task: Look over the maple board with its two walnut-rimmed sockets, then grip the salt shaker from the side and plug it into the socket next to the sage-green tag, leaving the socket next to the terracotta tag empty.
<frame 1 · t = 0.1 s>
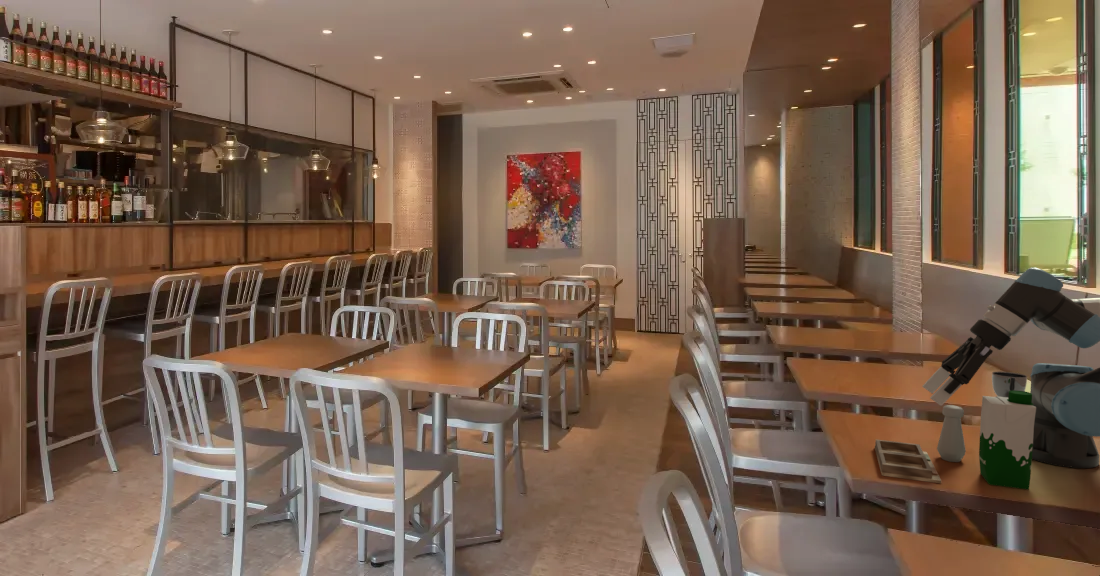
hand: (931, 395, 147), 15 cm above the table, tool tilted 35°, fingers open, 13 cm apart
wine glass: (1006, 426, 175), on the table
salt shaker: (950, 460, 148), on the table
milk carton: (1003, 482, 134), on the table
socket board: (905, 464, 144), on the table
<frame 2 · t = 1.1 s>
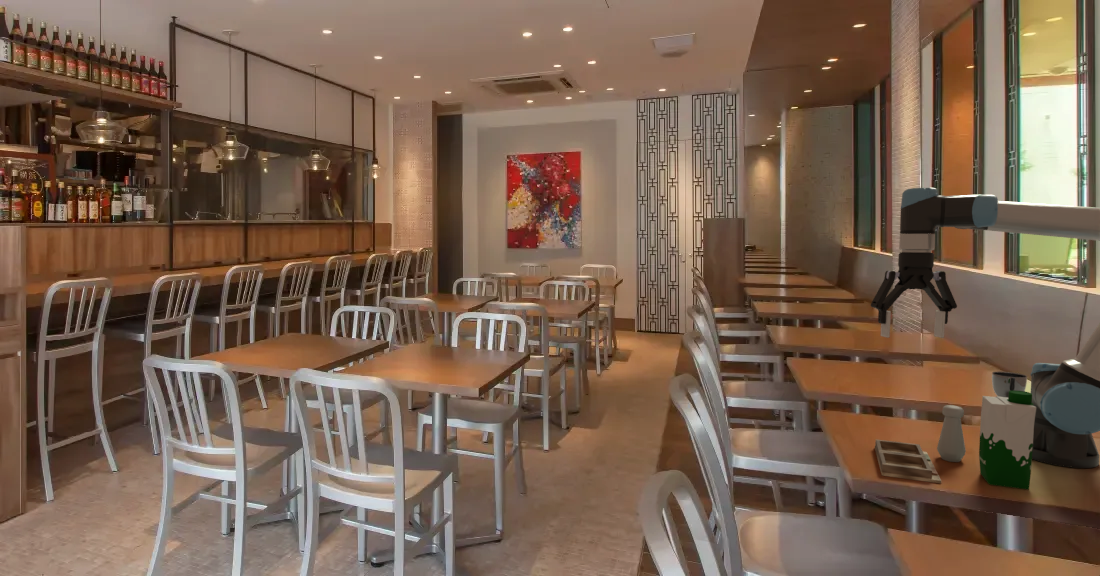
hand: (911, 337, 152), 29 cm above the table, tool pointing down, fingers open, 13 cm apart
nothing on the table moved.
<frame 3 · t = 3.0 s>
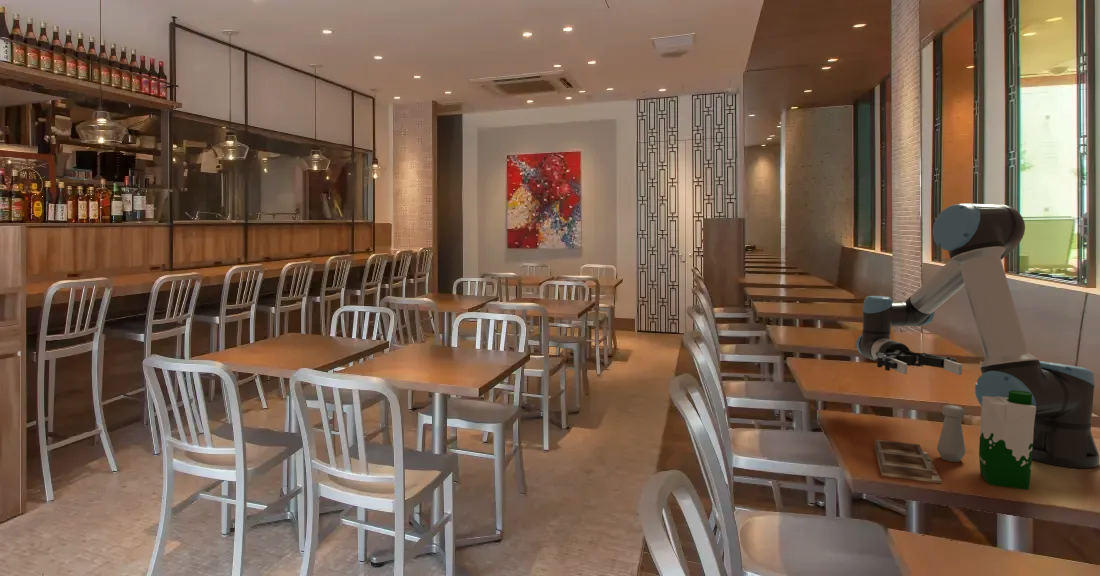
hand: (933, 369, 155), 20 cm above the table, tool horizontal, fingers open, 13 cm apart
nothing on the table moved.
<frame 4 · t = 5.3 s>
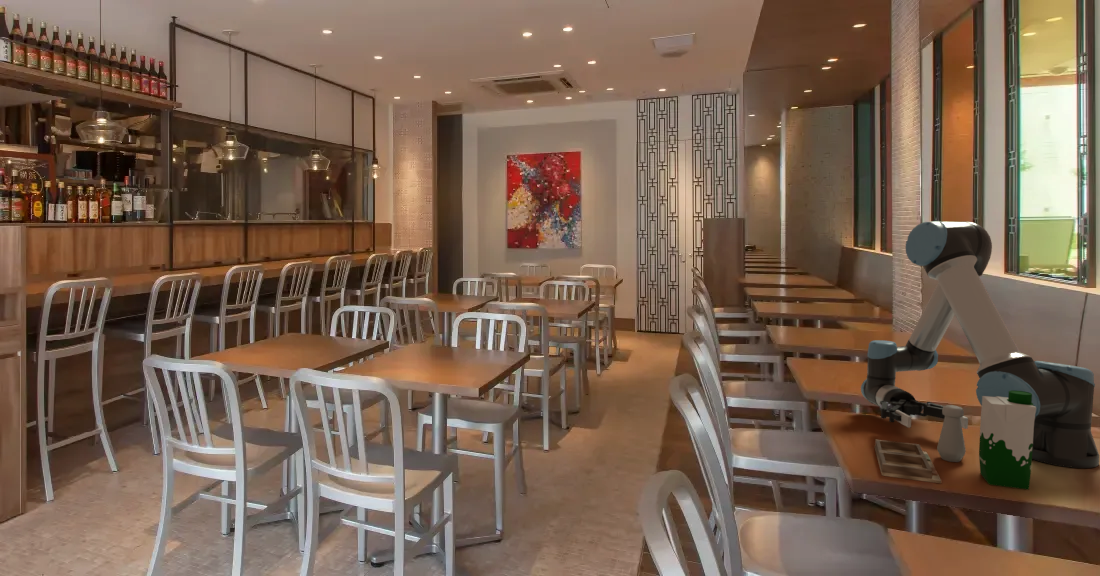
hand: (937, 422, 152), 7 cm above the table, tool horizontal, fingers open, 13 cm apart
nothing on the table moved.
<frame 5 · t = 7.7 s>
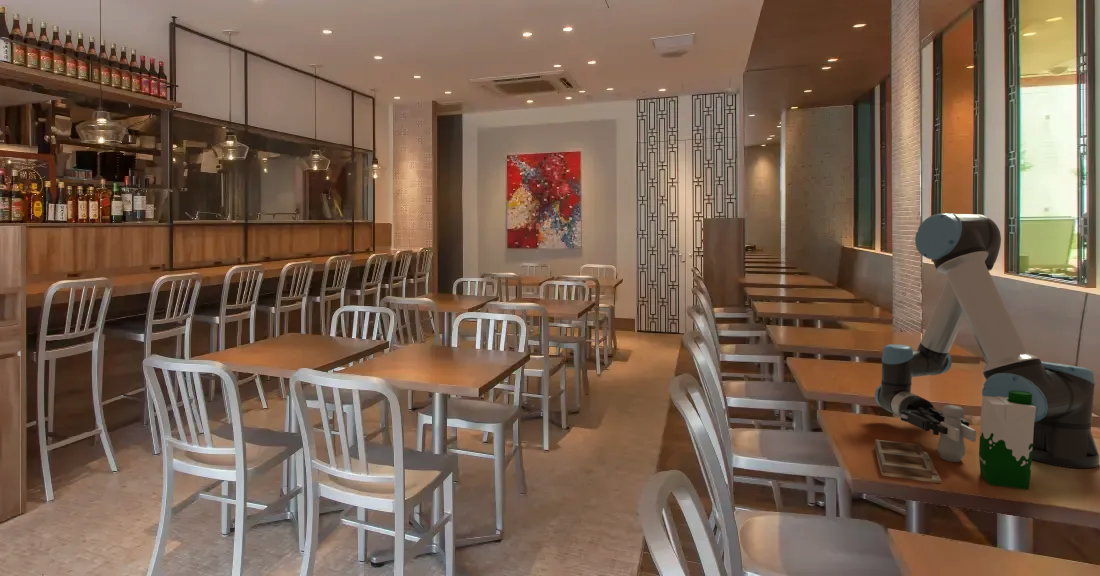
hand: (965, 435, 142), 7 cm above the table, tool horizontal, fingers closed on salt shaker, 3 cm apart
salt shaker: (950, 460, 148), on the table, touching gripper
everything else where it was.
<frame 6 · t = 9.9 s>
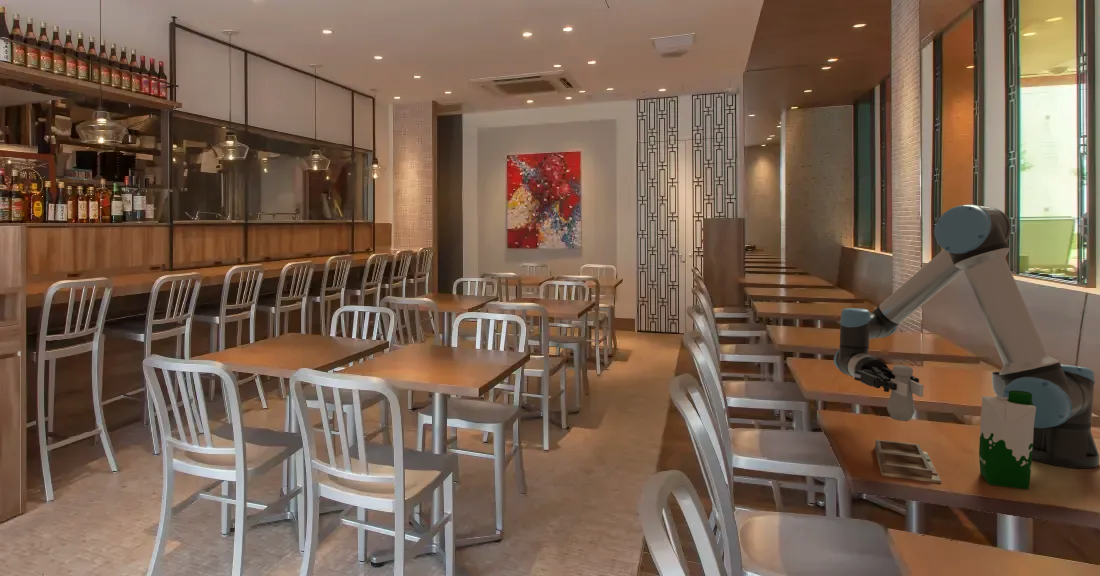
hand: (913, 390, 142), 18 cm above the table, tool horizontal, fingers closed on salt shaker, 3 cm apart
salt shaker: (900, 419, 148), point 9 cm above the table, touching gripper
everything else where it was.
when the fingers open (9 cm above the table, at t = 12.0 s): salt shaker stays where it is, resting on socket board.
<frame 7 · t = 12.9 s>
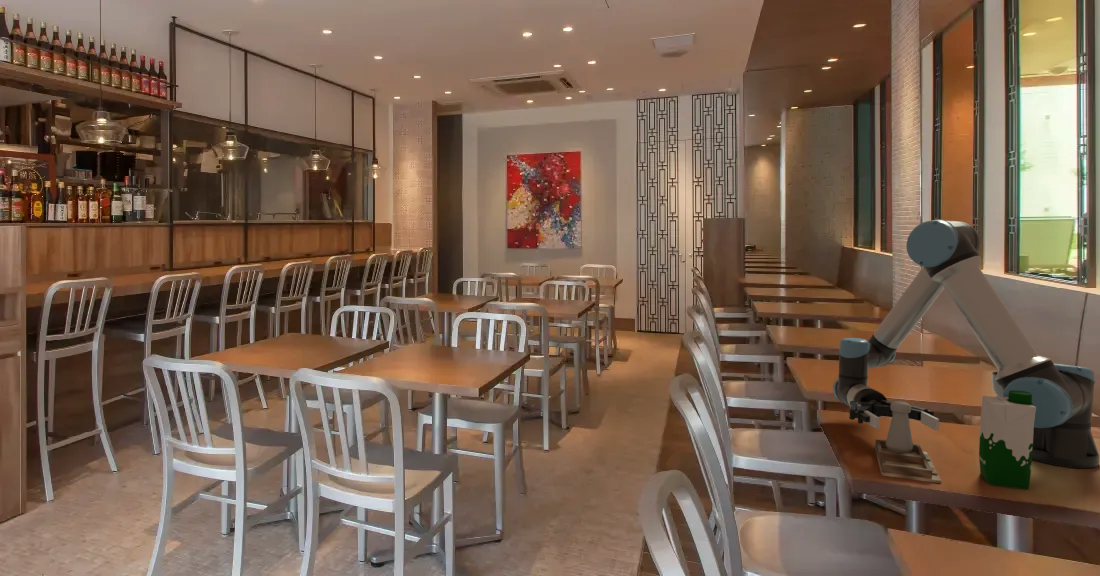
hand: (907, 424, 145), 9 cm above the table, tool horizontal, fingers open, 13 cm apart
salt shaker: (898, 455, 149), resting on socket board
everything else where it was.
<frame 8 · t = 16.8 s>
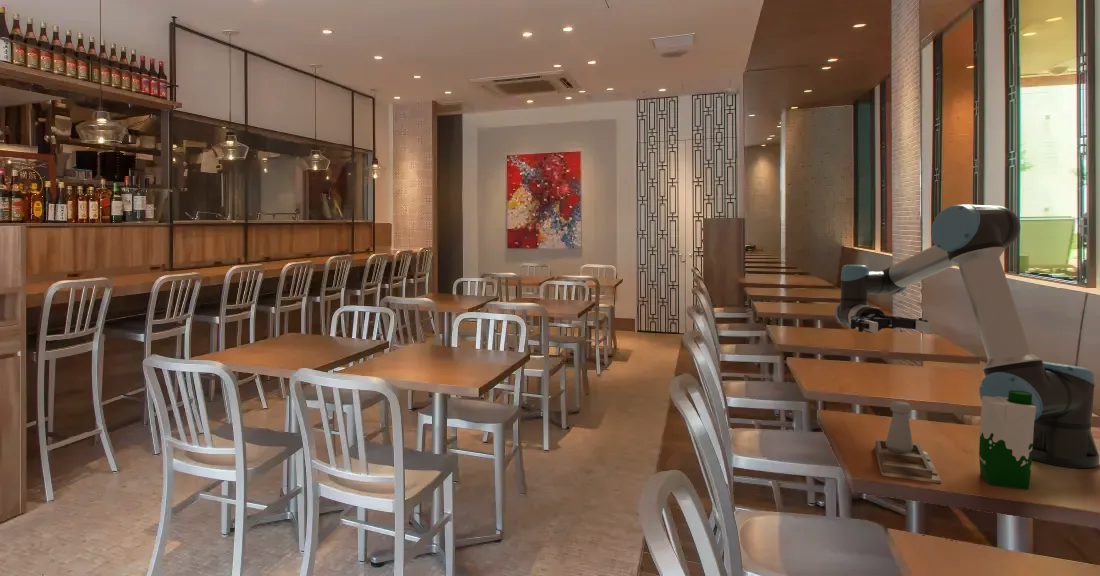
hand: (903, 328, 159), 30 cm above the table, tool horizontal, fingers open, 13 cm apart
nothing on the table moved.
at the end: salt shaker 0.1 cm from the target spot on the socket board, point 0.4 cm above the socket board's base; salt shaker tilted 0°; the gripper is holding nothing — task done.
